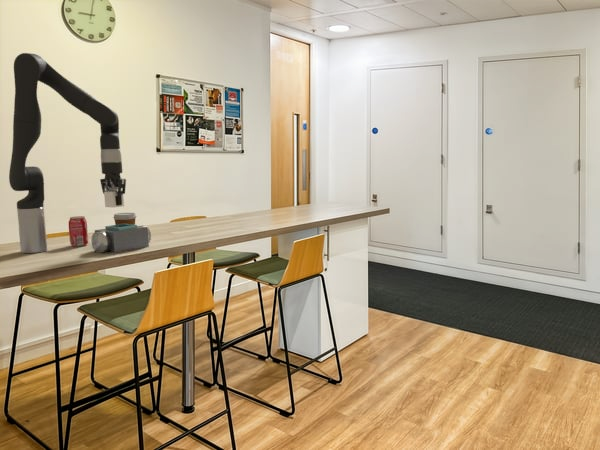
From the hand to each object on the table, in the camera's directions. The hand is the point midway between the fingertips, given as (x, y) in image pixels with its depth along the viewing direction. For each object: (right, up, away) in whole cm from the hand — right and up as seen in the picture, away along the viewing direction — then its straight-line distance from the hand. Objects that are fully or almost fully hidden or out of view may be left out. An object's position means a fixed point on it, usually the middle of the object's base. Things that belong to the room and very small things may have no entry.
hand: (114, 204), depth 200 cm
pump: (0, -1, 0) cm, 1 cm away
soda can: (-20, -17, +14) cm, 29 cm away
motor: (+1, -17, +5) cm, 18 cm away
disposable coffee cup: (-3, -15, +23) cm, 28 cm away
